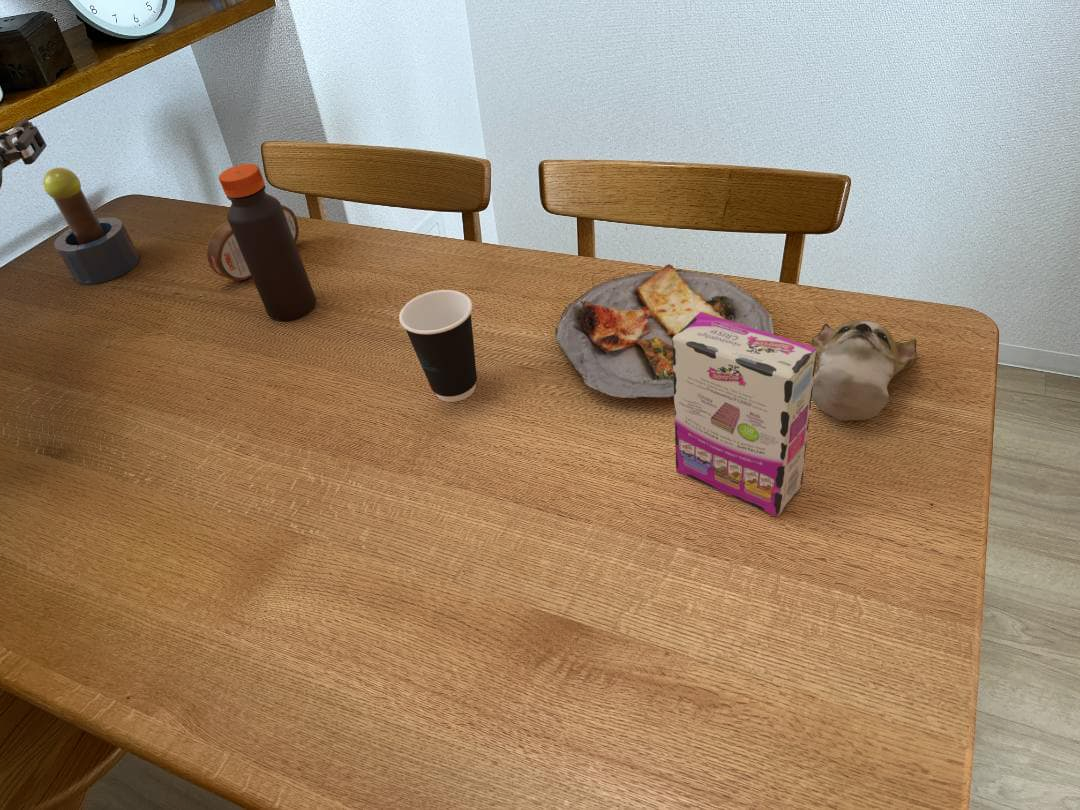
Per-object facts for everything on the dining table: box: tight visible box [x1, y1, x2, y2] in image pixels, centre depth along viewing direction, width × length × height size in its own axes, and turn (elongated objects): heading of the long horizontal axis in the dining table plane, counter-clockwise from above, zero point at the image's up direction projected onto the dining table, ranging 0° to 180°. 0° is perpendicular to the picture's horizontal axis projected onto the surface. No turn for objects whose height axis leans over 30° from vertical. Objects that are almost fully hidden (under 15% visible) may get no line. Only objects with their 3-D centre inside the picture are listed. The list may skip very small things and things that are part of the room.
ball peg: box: [42, 167, 106, 245], centre depth 122 cm, size 5×5×16 cm
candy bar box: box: [672, 312, 817, 518], centre depth 72 cm, size 11×5×16 cm, turn 50°
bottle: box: [218, 163, 317, 322], centre depth 105 cm, size 7×7×20 cm
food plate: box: [554, 263, 776, 399], centre depth 94 cm, size 25×23×4 cm
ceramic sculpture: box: [810, 319, 918, 422], centre depth 82 cm, size 11×9×15 cm
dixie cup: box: [398, 289, 478, 403], centre depth 90 cm, size 8×8×11 cm
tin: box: [206, 204, 300, 282], centre depth 119 cm, size 15×3×8 cm, turn 144°
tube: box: [53, 217, 140, 285], centre depth 126 cm, size 10×10×6 cm
